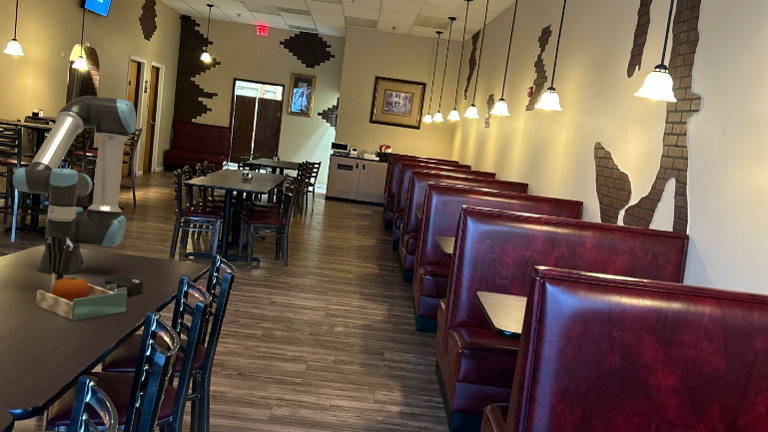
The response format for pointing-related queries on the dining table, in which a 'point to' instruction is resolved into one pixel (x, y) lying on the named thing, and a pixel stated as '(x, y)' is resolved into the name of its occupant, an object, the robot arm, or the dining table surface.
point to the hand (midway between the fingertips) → (56, 293)
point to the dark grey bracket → (113, 288)
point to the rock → (127, 284)
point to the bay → (84, 303)
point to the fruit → (70, 288)
